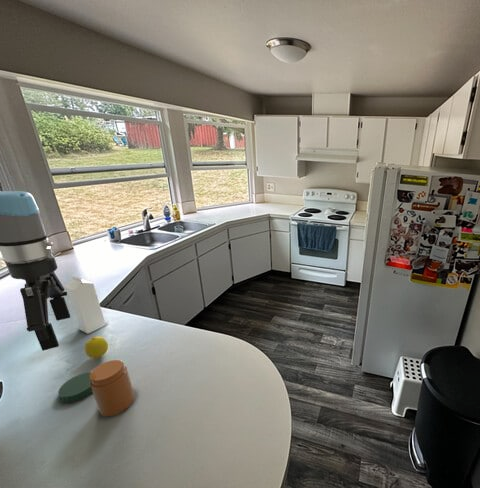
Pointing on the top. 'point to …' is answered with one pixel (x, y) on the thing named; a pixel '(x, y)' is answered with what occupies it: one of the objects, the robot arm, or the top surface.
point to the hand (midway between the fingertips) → (57, 332)
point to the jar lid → (75, 388)
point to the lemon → (96, 347)
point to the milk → (85, 305)
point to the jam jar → (111, 387)
